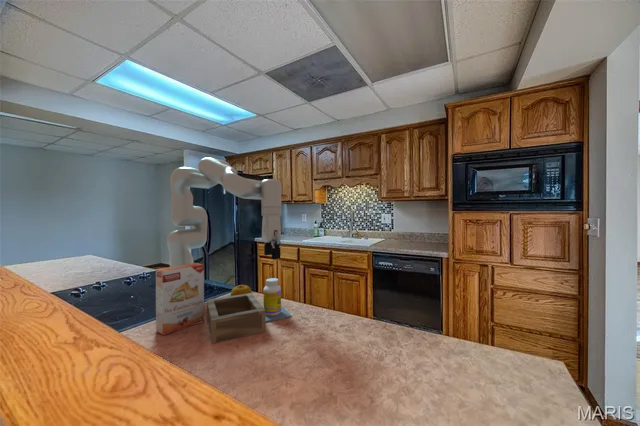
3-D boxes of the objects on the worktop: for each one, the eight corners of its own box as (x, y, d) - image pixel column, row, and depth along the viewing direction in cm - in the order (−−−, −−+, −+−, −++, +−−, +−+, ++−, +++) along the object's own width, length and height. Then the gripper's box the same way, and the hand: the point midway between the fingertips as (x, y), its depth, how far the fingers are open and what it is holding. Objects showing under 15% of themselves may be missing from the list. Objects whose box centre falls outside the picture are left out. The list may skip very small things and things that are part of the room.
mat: (255, 312, 101) (255, 311, 101) (282, 307, 106) (282, 306, 106) (262, 323, 92) (262, 321, 92) (291, 316, 97) (291, 315, 97)
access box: (206, 318, 96) (206, 299, 96) (251, 310, 103) (251, 293, 103) (211, 343, 78) (211, 320, 78) (265, 331, 85) (265, 310, 85)
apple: (231, 304, 111) (230, 283, 111) (251, 301, 113) (251, 281, 113) (230, 311, 103) (230, 289, 103) (252, 308, 105) (252, 287, 105)
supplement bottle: (279, 316, 96) (279, 282, 96) (261, 316, 96) (261, 282, 96) (282, 309, 102) (282, 277, 102) (265, 309, 103) (265, 277, 102)
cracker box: (163, 336, 83) (162, 271, 82) (155, 331, 86) (154, 268, 86) (205, 321, 94) (204, 263, 94) (196, 317, 97) (195, 261, 97)
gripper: (256, 212, 105) (256, 254, 105) (268, 212, 89) (268, 261, 89) (274, 211, 108) (274, 252, 108) (288, 211, 93) (289, 259, 93)
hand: (272, 256), depth 99 cm, fingers open, 9 cm apart
